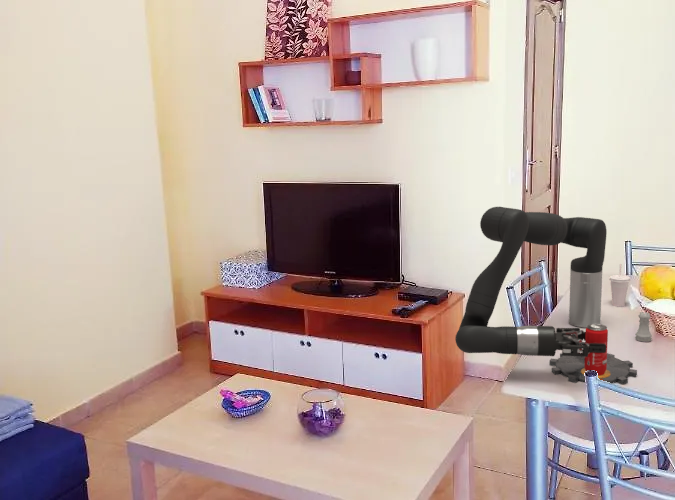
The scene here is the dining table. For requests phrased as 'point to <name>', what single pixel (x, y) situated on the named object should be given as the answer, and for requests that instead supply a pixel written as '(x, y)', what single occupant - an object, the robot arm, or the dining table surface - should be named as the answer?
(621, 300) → the smoothie
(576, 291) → the robot arm
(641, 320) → the rook chess piece
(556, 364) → the sprocket
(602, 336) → the beverage can
